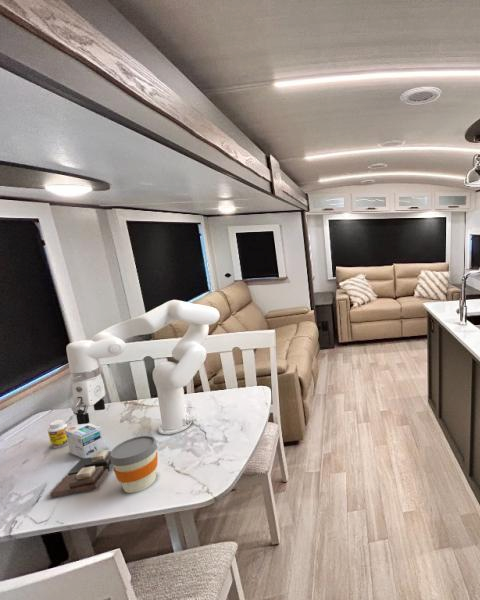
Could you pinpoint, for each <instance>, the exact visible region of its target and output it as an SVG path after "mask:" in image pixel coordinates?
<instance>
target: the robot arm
mask: <svg viewBox="0 0 480 600" xmlns="http://www.w3.org/2000/svg"><path fill="white" fill-rule="evenodd" d="M220 317H221V315H220V312H219V310H218V309H217V308H215V307H214V306H209V305H204V304H199V303H198V304H197V303H192V302H189V301H183V300H178V299H172V300H168V301H166V302H164V303H163V304H161V305H159V306H156V307H154V308H152V309H151V310H149V311H147V312H145V313H143V314H141V315H139V316H136V317H133V318H129V319H127V320H124V321H122V322H117V323H115V324H113V325H111V326H109V327H107V328H105V329H103V330H101V331H99V332H98V333H96V334H94V335H93V336H92V337H91V338H90V339H81V340H75V341H72V342H69V343H68V344H67V345H66V356H67V361H68V368H69V373H70V379H71V382H72V387H71V388H72V389H71V390H72V400H73V404H72V406H71V408H70V409H71V412H72V413H73V414H74V416H75V417H76V421H77V422H76V423H77V425H78V424H88V423H90V415H89V412H88V410H89V407H93V410H94V411H96V412H97V411H104V410H105V409H106V405H105V396H106V389H105V384H104V380H103V376H102V375H101V371H100V365H99V359H106V358H107V359H108V358H113V357H114V358H115V357H117V356H120V355H121V354H122V353H124V352H125V351H126V347H127V344H126V342H125V340H127V339H130V338H133V337H135V336H142V335H150V334H154V333H156V332H157V331H159V330H161V329H163V328H165V327H167V326H168V325H170V324H172V323H173V322H175V321H179V322H184V323H189V325H188V329H187V331H186V332H185V333H184V335H182V337H181V338H180V340H179V341H178V342H177V343H176V345H175V346H174V347H173V349H172V350H171V356H172V358H173V359H174V360H176V361H178V362H173V361H168V360H167V361H161V362H159V363H158V364H157V365H155V367H154V368H153V370H152V380H153V383H154V386H155V389H156V394H157V399H158V400H157V401H158V406H159V413H160V420H161V424H160V425H159V426H158V429H157V431H158V433H159V434H161V435H173V434H177V433H180V432H182V431H184V430H186V429H188V428H189V427H191V425H192V423H193V422H198V420H199V417H198V416H197V415H196V414H193V415H190V412H187V405H186V398H185V390H184V387H186V386H187V385H188V384H189V383H190V382H191V381H192V380H193V379H194V377H195V376H196V374H197V373H198V372H199V370H200V369H201V367H202V366H203V364H204V363H205V361H206V359H207V354H208V353H207V349H206V348H205V347H204V346H203V343H204V342H205V340H207V337H208V335H209V332H210V325H211V326H212V325H215V324H216V323H217V322H219V320H220Z"/></svg>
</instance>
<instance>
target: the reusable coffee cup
mask: <svg viewBox="0 0 480 600" xmlns="http://www.w3.org/2000/svg"><path fill="white" fill-rule="evenodd" d="M157 448H158V444H157V441H156V438H155V437H154V436H152V435H139V436H135V437H132V438H129V439H126V440H125V441H122V442H120V443H119V444H117V445H116V446H115V447H114V448H112V450H110V451H111V463H112V465H114V466H113V468H112V469H113V473H114V474H115V478H116V479H117V481H118V482H120V484H121V487H122V489H123V491H124V492H125V493H127V494H133V493H138V492H141V491H143V490H145V489H146V488H148V487H150V486H151V485H153V483H154V482H155V481H156V477H157V467H158V451H157Z"/></svg>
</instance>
